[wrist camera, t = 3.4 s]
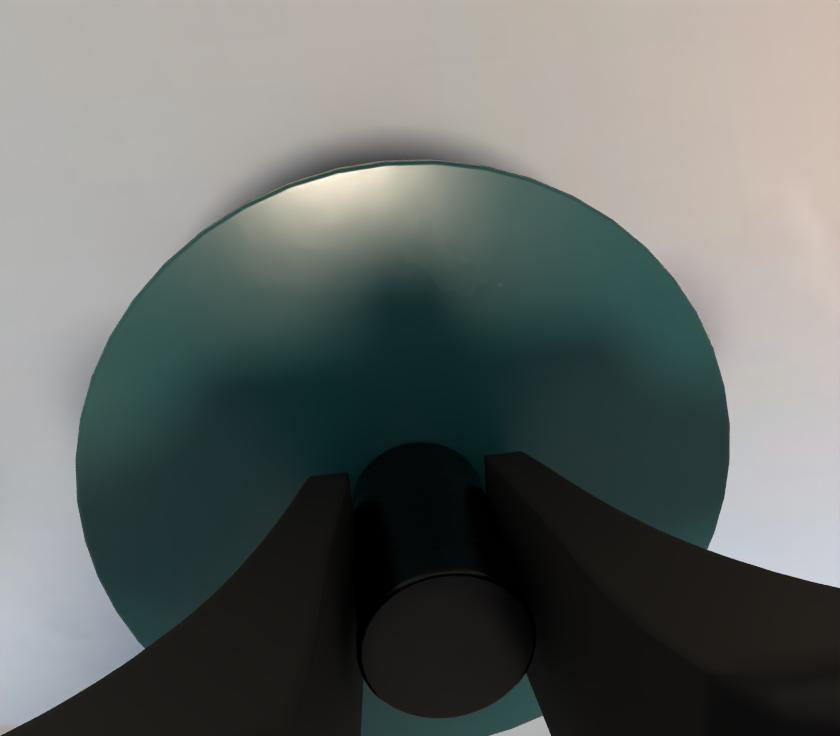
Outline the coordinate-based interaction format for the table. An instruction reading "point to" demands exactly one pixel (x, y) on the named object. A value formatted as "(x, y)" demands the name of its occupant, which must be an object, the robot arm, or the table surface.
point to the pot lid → (396, 413)
